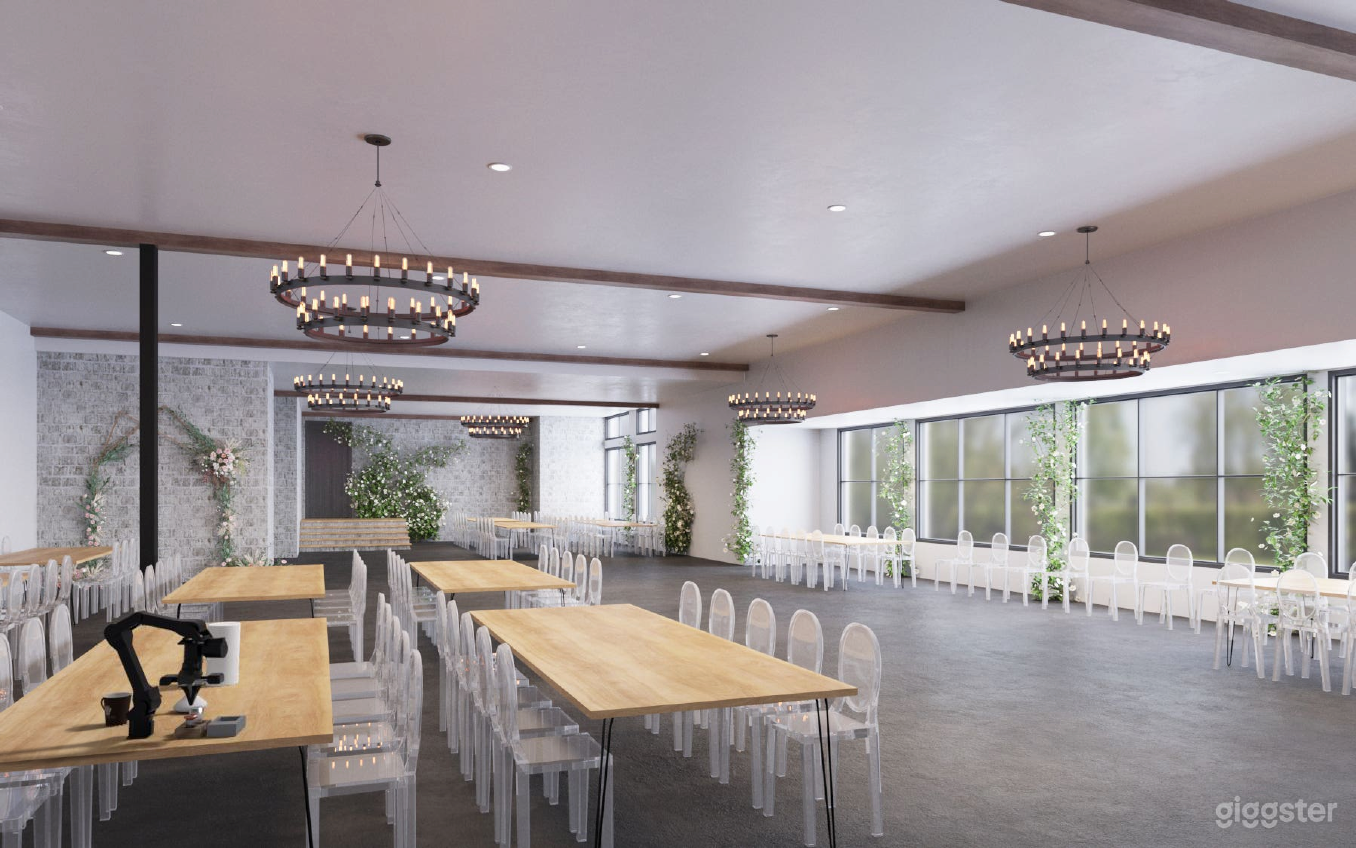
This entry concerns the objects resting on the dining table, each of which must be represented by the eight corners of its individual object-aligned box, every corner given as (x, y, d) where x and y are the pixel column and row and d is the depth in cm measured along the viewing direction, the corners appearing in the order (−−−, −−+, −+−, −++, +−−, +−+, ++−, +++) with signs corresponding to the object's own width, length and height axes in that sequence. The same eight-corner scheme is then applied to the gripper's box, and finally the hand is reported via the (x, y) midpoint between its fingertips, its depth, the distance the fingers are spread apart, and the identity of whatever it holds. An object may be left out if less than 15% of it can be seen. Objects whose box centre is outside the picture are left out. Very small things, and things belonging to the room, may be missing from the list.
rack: (206, 737, 306) (207, 725, 307) (217, 728, 318) (218, 716, 318) (235, 736, 308) (236, 724, 308) (245, 727, 320) (246, 715, 320)
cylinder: (233, 679, 400) (236, 621, 401) (241, 684, 390) (244, 624, 392) (202, 683, 392) (204, 623, 393) (209, 688, 382) (212, 626, 384)
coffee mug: (133, 724, 323) (134, 695, 323) (105, 728, 317) (106, 699, 317) (125, 718, 331) (126, 690, 332) (97, 722, 325) (98, 693, 326)
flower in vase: (192, 715, 336) (195, 645, 338) (165, 713, 338) (168, 644, 340) (217, 707, 349) (220, 640, 350) (191, 705, 351) (193, 639, 353)
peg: (186, 733, 311) (187, 709, 312) (190, 730, 315) (191, 706, 315) (199, 733, 312) (200, 709, 312) (203, 730, 316) (204, 706, 316)
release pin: (181, 730, 306) (182, 717, 306) (185, 726, 310) (186, 714, 310) (194, 729, 306) (195, 716, 307) (198, 726, 310) (199, 714, 311)
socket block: (174, 738, 305) (174, 729, 305) (186, 729, 316) (186, 720, 316) (200, 737, 306) (200, 728, 306) (211, 728, 318) (211, 719, 318)
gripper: (154, 663, 300) (151, 712, 299) (215, 661, 304) (213, 710, 302) (166, 657, 311) (164, 704, 310) (225, 655, 314) (223, 702, 313)
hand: (191, 705), depth 309 cm, fingers closed
